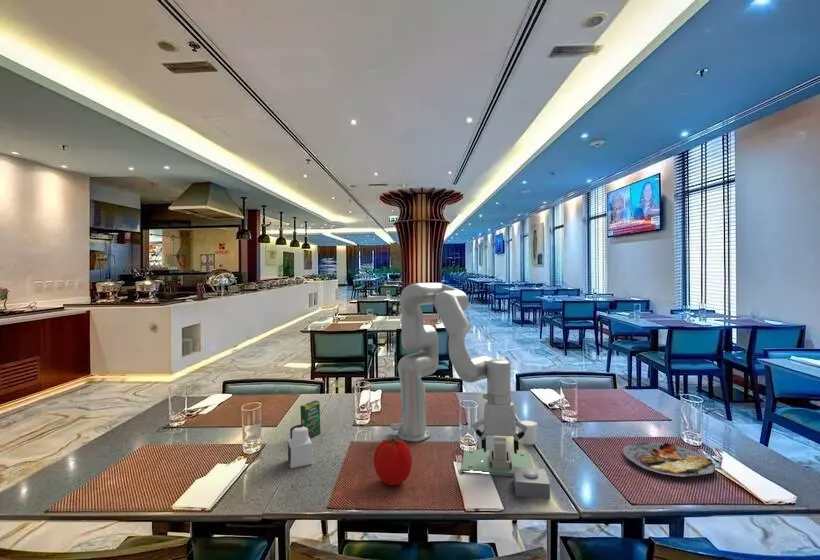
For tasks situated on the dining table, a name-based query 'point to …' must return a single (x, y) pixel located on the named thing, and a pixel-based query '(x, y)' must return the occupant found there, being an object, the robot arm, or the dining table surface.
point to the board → (476, 456)
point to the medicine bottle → (299, 447)
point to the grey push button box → (531, 482)
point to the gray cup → (529, 432)
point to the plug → (499, 448)
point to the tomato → (392, 461)
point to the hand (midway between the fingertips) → (500, 451)
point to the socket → (500, 463)
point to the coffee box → (311, 417)
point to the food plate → (669, 459)
